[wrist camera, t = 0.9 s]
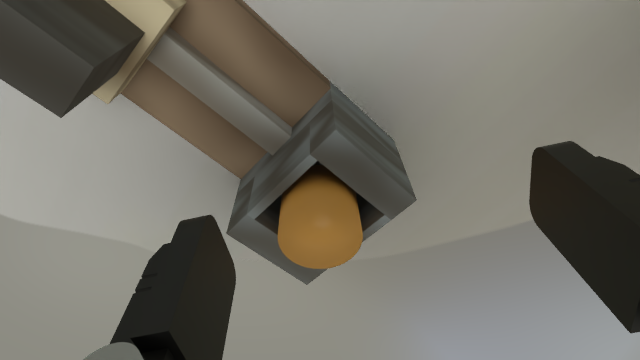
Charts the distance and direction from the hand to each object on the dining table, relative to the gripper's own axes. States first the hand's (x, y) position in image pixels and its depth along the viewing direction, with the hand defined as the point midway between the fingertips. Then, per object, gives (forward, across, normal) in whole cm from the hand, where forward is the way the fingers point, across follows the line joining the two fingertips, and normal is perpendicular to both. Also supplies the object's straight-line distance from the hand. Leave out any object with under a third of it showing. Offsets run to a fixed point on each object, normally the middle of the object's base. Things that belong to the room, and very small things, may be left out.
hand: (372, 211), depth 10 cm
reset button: (+15, +2, +8) cm, 17 cm away
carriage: (+17, +12, -5) cm, 21 cm away
